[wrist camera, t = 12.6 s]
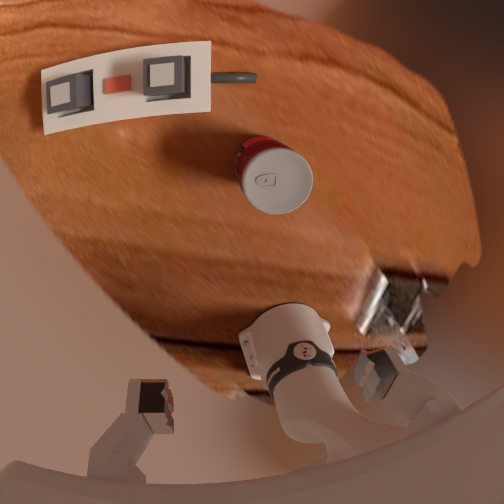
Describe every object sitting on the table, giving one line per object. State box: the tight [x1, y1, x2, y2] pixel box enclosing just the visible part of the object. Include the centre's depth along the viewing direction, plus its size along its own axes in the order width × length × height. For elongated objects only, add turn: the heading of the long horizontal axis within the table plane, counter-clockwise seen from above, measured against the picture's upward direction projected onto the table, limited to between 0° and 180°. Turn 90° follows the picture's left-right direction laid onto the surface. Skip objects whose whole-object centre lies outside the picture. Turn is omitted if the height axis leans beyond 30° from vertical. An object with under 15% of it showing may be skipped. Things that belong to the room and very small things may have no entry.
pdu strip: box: [41, 41, 256, 135], centre depth 29 cm, size 9×28×9 cm, turn 89°
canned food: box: [233, 136, 313, 215], centre depth 36 cm, size 8×8×11 cm
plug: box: [143, 55, 186, 96], centre depth 28 cm, size 4×4×8 cm
